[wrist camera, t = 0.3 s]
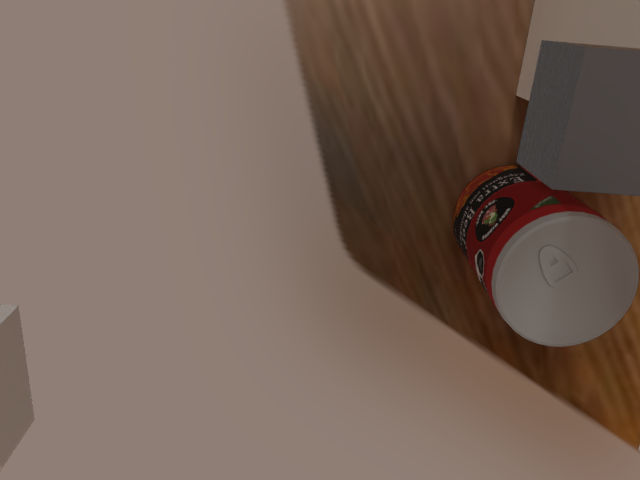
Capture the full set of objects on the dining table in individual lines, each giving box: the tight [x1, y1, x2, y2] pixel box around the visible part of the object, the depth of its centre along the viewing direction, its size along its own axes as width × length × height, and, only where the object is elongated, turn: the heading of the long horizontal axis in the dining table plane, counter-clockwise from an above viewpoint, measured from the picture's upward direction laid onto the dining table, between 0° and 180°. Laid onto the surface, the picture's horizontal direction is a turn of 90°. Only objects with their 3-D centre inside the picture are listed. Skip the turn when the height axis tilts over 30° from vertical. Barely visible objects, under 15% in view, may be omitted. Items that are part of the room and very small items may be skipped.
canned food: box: [453, 165, 639, 347], centre depth 36 cm, size 8×8×11 cm
